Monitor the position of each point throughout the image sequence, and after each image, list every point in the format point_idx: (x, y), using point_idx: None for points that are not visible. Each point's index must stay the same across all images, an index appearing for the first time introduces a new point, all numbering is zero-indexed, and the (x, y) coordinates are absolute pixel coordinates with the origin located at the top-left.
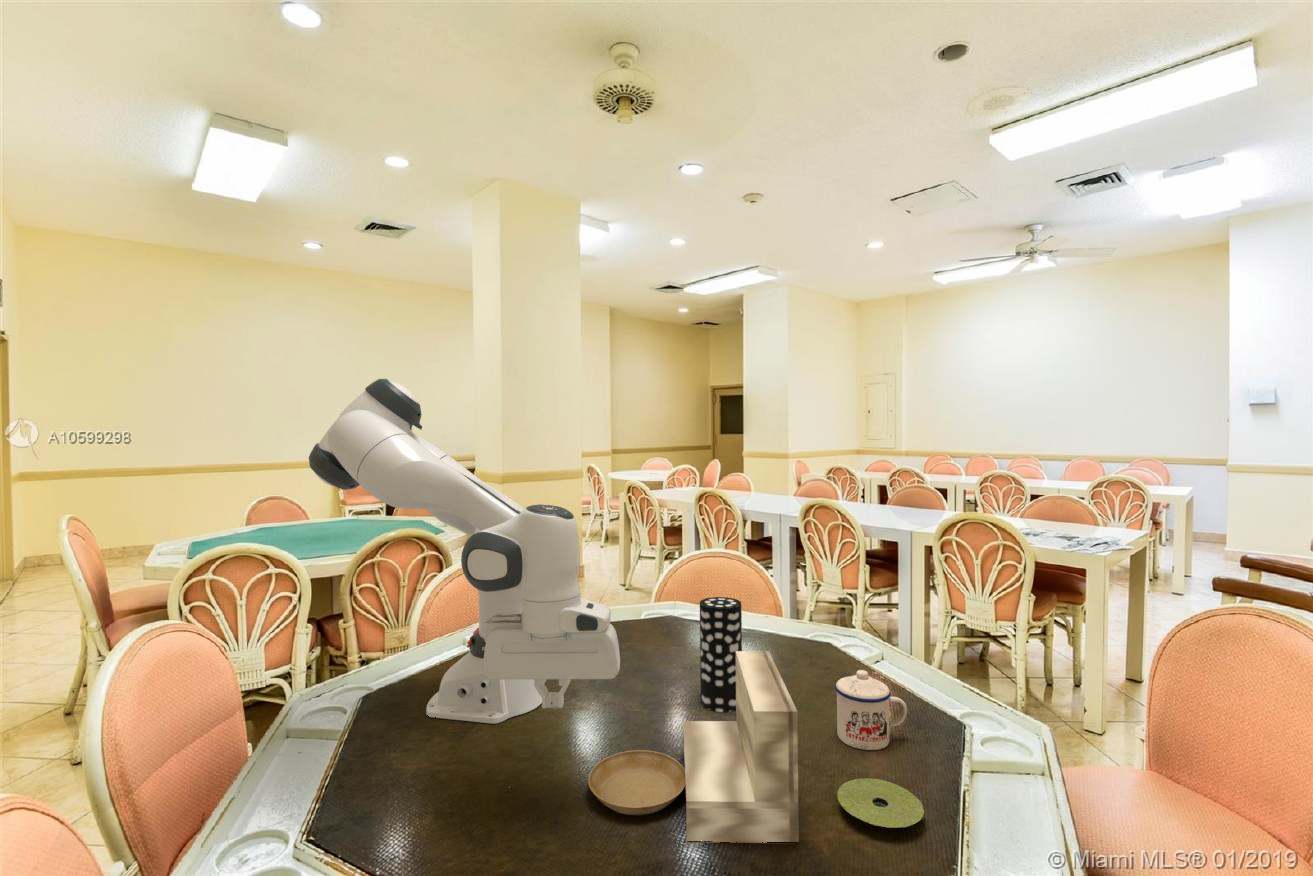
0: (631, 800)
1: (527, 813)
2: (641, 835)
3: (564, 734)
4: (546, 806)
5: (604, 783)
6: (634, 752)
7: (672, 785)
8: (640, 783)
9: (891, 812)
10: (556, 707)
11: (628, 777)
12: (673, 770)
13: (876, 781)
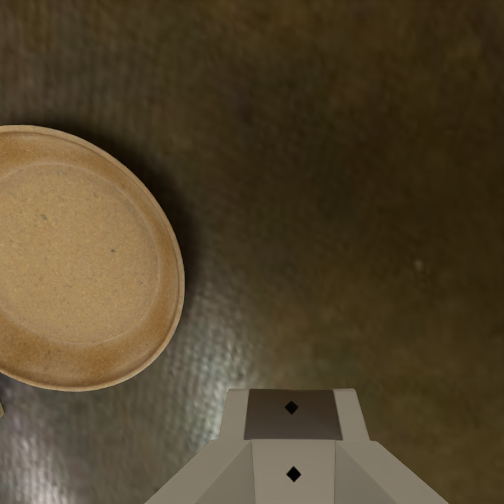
0: (70, 218)
1: (337, 148)
2: (6, 77)
3: None
4: (291, 183)
5: (157, 283)
6: (90, 384)
7: None
8: (68, 289)
9: None
10: (260, 389)
11: (105, 312)
12: None
13: None
